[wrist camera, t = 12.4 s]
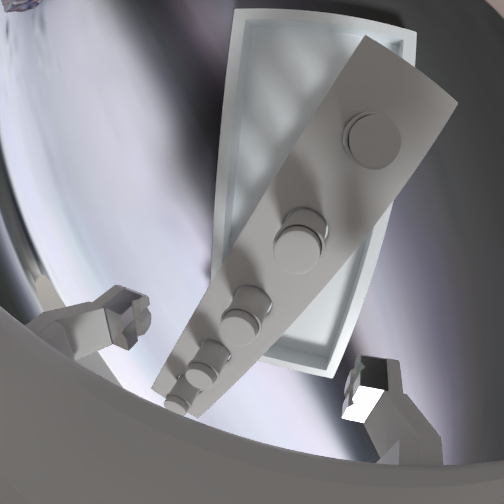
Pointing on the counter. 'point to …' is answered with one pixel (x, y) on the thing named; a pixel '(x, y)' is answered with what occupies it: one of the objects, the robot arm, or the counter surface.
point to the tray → (279, 146)
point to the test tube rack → (308, 220)
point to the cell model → (19, 5)
